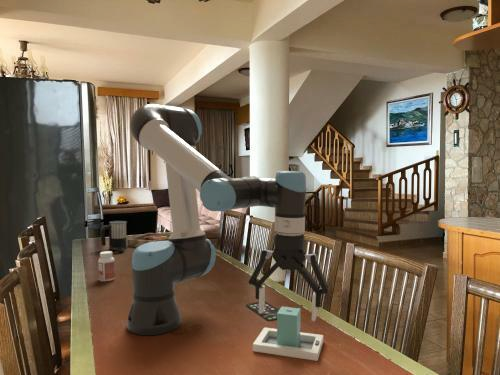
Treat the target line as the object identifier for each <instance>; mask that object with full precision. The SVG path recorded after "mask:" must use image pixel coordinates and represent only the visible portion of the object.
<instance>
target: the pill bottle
mask: <svg viewBox="0 0 500 375" xmlns="http://www.w3.org/2000/svg"><path fill="white" fill-rule="evenodd" d="M97 262H98V263H97V265H98V266H97V267H98V280H99V282H111V281H113V280H115V278H116V264H115V257H113V250H105V251H101V252H99V259H98V260H97Z"/></svg>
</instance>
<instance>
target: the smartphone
mask: <svg viewBox="0 0 500 375" xmlns="http://www.w3.org/2000/svg"><path fill="white" fill-rule="evenodd" d="M245 306H246V307H247V308H248V309H249V310H251V311H252V312H254V313H255V314H257V315H258V316H259V317H260V318H262V319H263V320H265V321H267V322H274V321H277V313H278V311H279V310H280V309H279V308H277V307H274V306H273V305H272V304H270V303H268V302H266V301H265V307H264V311H263V312H262V314H261V313H259V301H256V302H251V303H247V304H246V305H245Z"/></svg>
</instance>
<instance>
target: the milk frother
mask: <svg viewBox="0 0 500 375" xmlns="http://www.w3.org/2000/svg"><path fill="white" fill-rule="evenodd" d="M106 230H108V248H109V249H108V250H109V251H116V252H118V253H122V252H125V250H127V248H128V245H127V221H126V220H113V221H109V224H106V225H103V226H102V227H101V228H100V230H99V233H100V234H99V235H100V244H101V246H102V247H105V246H106Z"/></svg>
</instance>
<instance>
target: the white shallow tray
mask: <svg viewBox="0 0 500 375" xmlns="http://www.w3.org/2000/svg"><path fill="white" fill-rule="evenodd" d="M323 344H324V335H323V334H316V333H309V332H301V331H300V345H299V347H298V348H297V347H290V346H283V345H277V328H273V327H271V328H270V327H266V326H265V327H263V329H262V330H261V332H260V333H259V334H258V336H257V337H256V339H255V340H254V342H253V343H252V351H253V352H257V353H262V354H263V353H265V354H269V355H271V354H272V355H275V356H276V355H277V356H284V357H289V358H297V359H304V360H309V361H316V362H317V361H318V360H319V357H320V355H321V351H322V348H323Z"/></svg>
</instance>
